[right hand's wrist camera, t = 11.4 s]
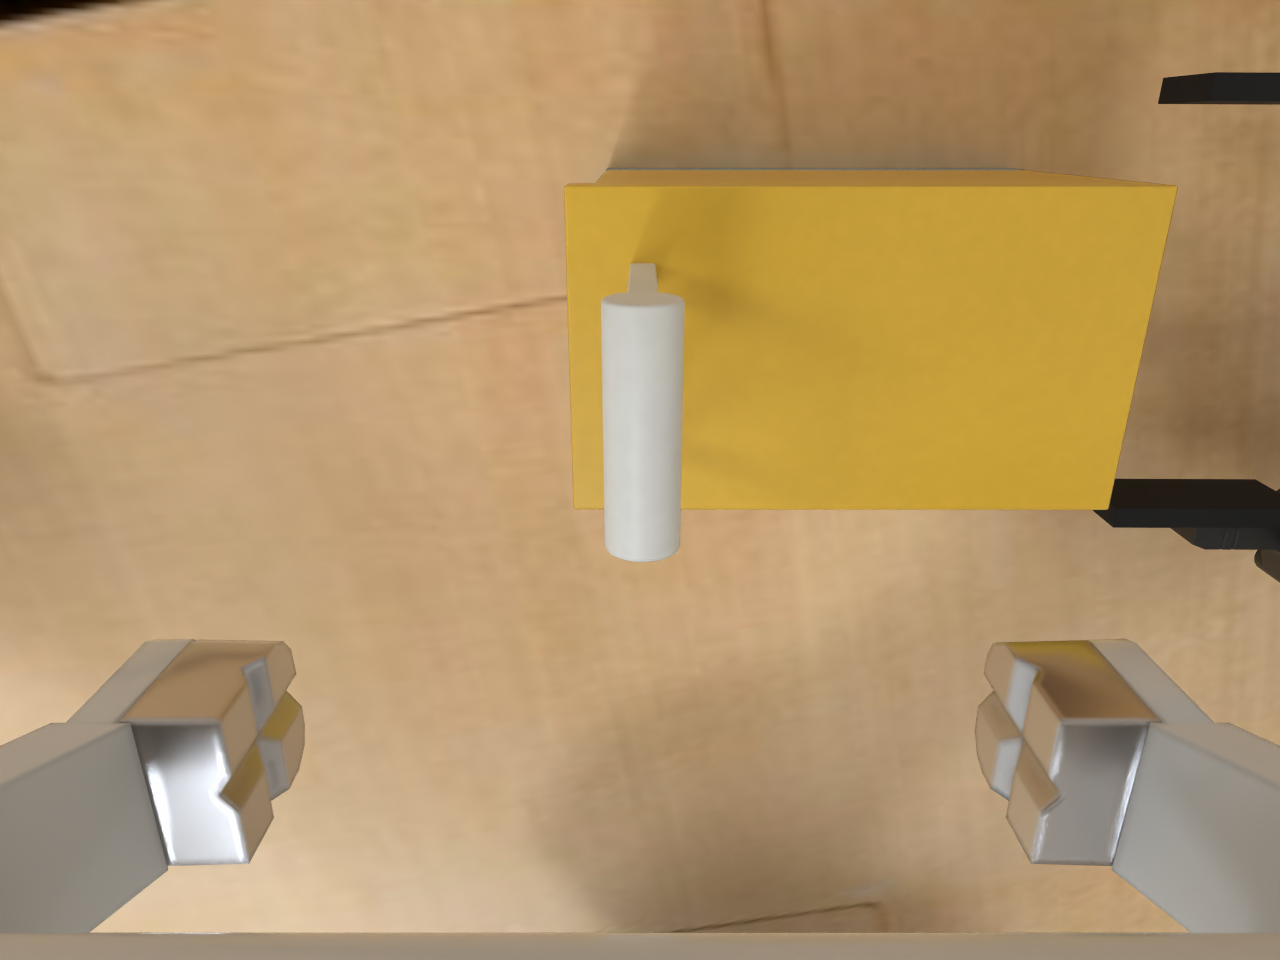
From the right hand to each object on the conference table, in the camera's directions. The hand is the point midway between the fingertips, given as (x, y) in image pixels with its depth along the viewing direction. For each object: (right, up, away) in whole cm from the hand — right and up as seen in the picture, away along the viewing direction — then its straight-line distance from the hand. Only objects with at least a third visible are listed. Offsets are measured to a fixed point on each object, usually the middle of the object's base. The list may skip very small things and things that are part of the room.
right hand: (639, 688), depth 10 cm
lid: (+6, +6, +16) cm, 18 cm away
